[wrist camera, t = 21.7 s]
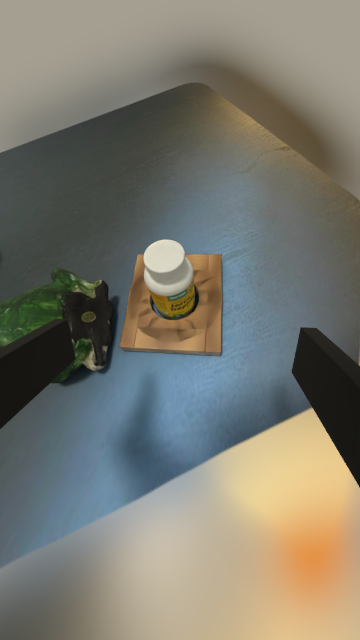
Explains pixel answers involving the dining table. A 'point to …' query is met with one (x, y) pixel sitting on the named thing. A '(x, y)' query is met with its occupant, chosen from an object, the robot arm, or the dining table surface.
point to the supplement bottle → (169, 279)
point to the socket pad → (185, 334)
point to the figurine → (64, 317)
